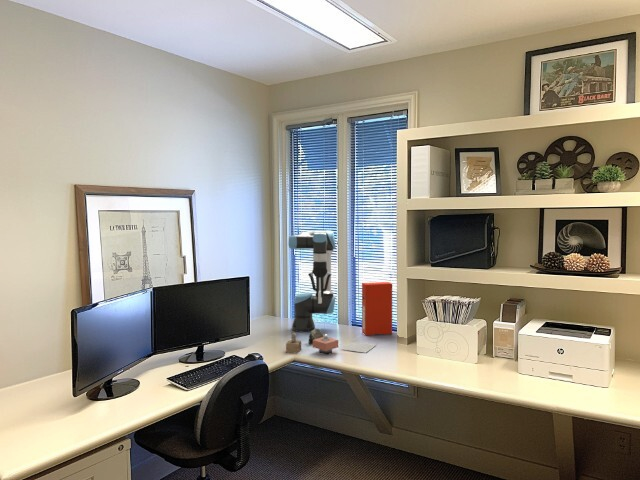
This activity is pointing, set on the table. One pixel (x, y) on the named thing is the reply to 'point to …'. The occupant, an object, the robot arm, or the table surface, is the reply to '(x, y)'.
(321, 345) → the salmon square frame
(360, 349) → the paper stack
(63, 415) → the table surface
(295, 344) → the stand
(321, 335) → the fossil
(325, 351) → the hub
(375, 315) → the file binder
